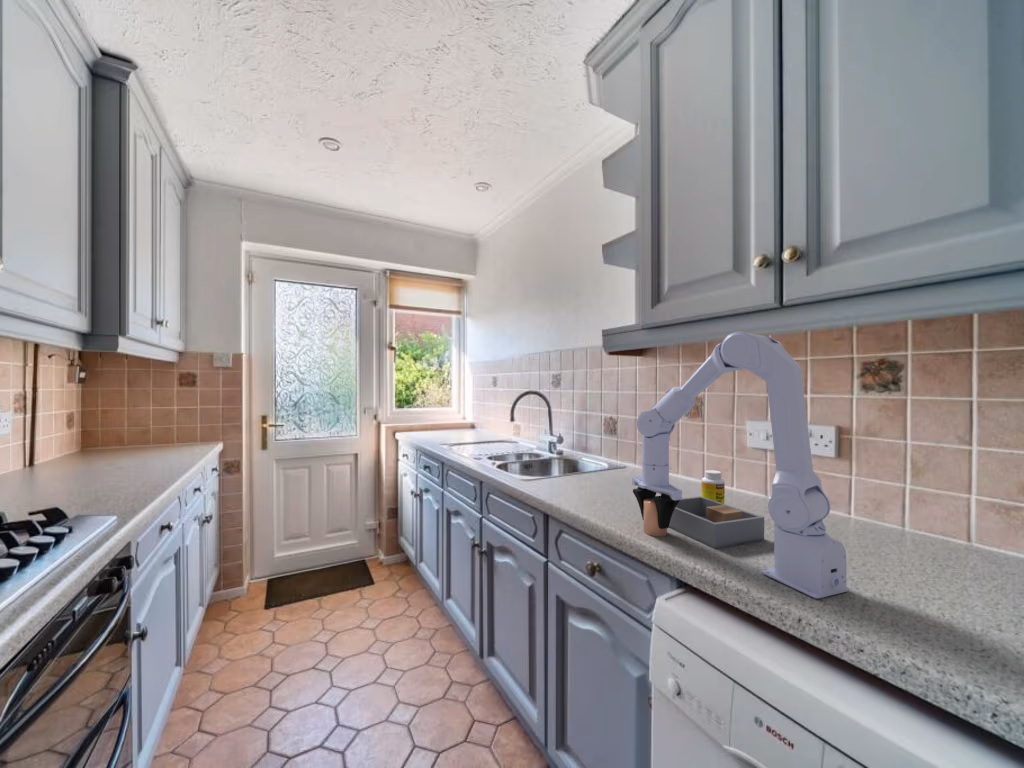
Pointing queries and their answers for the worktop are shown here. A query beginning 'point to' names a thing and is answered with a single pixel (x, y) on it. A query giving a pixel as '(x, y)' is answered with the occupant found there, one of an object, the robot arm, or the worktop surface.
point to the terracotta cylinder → (652, 519)
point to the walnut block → (722, 513)
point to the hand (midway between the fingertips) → (655, 523)
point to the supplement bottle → (713, 486)
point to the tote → (715, 524)
